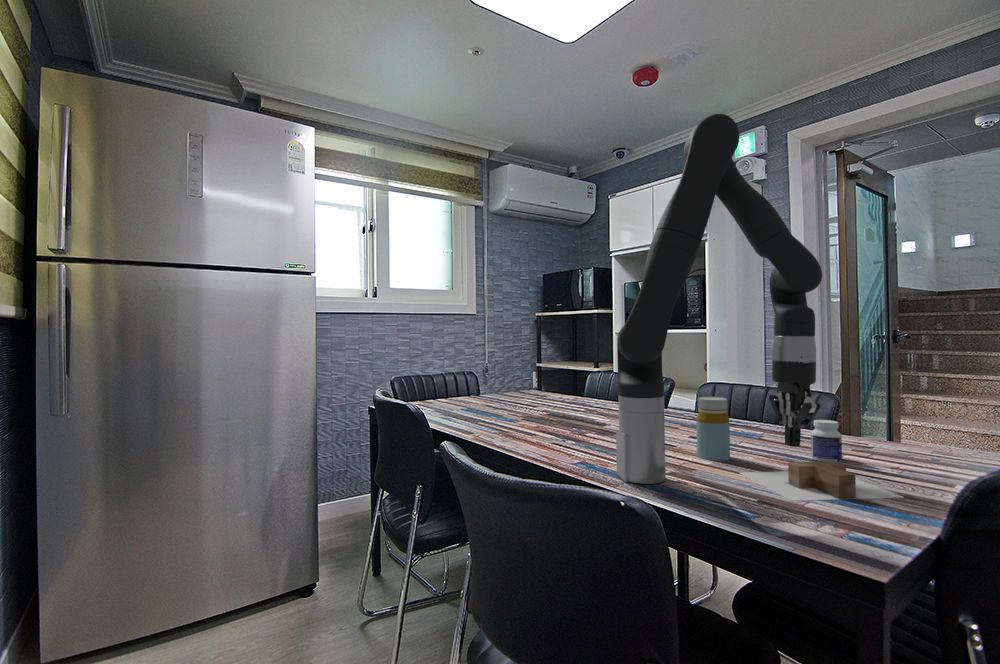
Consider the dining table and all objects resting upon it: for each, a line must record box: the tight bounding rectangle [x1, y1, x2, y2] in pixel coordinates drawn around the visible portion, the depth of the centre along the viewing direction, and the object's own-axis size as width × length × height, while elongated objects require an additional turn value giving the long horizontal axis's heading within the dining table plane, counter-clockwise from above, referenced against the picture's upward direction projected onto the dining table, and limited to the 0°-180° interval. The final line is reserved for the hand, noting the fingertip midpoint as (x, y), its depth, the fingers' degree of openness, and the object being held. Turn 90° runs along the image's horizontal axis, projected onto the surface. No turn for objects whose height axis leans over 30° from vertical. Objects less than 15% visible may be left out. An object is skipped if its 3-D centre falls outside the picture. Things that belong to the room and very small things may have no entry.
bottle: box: [696, 396, 731, 462], centre depth 114 cm, size 7×7×15 cm
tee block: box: [787, 460, 856, 500], centre depth 89 cm, size 9×9×4 cm
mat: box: [739, 470, 905, 502], centre depth 93 cm, size 20×17×2 cm
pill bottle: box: [810, 419, 843, 463], centre depth 111 cm, size 6×6×10 cm
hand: (792, 445), depth 98 cm, fingers closed
